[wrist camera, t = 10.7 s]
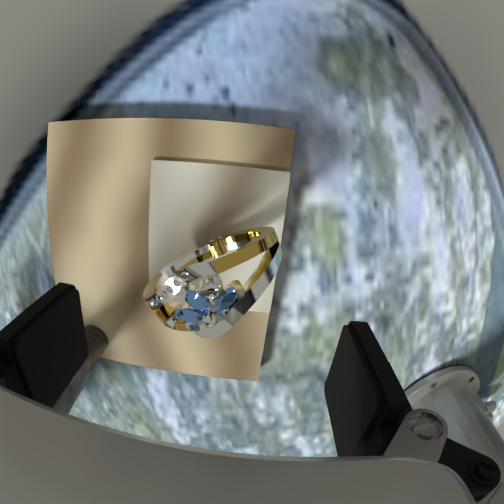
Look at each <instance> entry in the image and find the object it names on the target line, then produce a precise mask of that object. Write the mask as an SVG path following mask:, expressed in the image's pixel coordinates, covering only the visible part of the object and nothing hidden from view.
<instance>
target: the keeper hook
mask: <svg viewBox="0 0 504 504" xmlns="http://www.w3.org/2000/svg"><path fill="white" fill-rule="evenodd" d="M85 333H86V338H87V343H88V348H89V354H88V358H87V359H86V361H85V362H84V363H83V365H82V366H81V368H80V369H79V370H78V372H77V373H76V375H75V376H74V377H73V379H72V380H71V382H70V383H69V385H68V386H67V387H66V389H65V390H64V392H63V393H62V395H61V396H60V398H59V399H58V400H57V402H56V403H55V405H54V406H53V409H56V410H58V411H61V412H64V413H66V414H69V412H70V410H71V408H72V406H73V404H74V403H75V401H76V399H77V397H78V395H79V394H80V392H81V390H82V388H83V387H84V385H85V383H86V382H87V380H88V378H89V376H90V375H91V373H92V371H93V370H94V368H95V366H96V364H97V363H98V361H99V359H100V358H101V356H102V355H103V353H104V351H105V350H106V348H107V346H108V338H107V336H106V334H105V333H104V332H103V331H102V330H101V329H100V328H98V327H96V326H93V325H87V326H85Z"/></svg>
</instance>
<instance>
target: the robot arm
mask: <svg viewBox="0 0 504 504" xmlns="http://www.w3.org/2000/svg"><path fill="white" fill-rule="evenodd" d="M88 354H89V348H88V343H87V338H86V333H85V327H84V321H83V315H82V308H81V301H80V294H79V291H78V290H77V289H76V287H75V286H74V285H72V284H67V283H63V282H60V283H58V284H57V285H55V286H54V287H53V288H52V289H50V290H49V291H48V292H46V293H45V294H44V295H43V296H41V297H40V298H39V299H38V300H36V301H35V302H34V303H33V304H32V305H30V306H29V307H28V308H27V309H25V310H24V311H23V312H22V313H21V314H19V315H18V316H17V317H16V318H15V319H14V320H12V321H11V322H10V323H9V324H8V325H7V326H5V327H4V328H3V329H2V330H1V331H0V504H504V441H503V439H502V437H501V436H500V434H499V433H498V431H497V430H496V428H495V426H494V425H493V423H492V421H493V415H492V413H491V412H492V411H494V410H495V408H496V402H495V401H494V400H493V401H488V402H485V403H484V402H483V401H482V400H481V398H480V397H479V395H478V393H479V389H480V380H479V378H478V376H477V374H476V373H475V372H474V371H473V370H472V369H471V368H469V367H467V366H452V367H448V368H445V369H442V370H439V371H437V372H434V373H432V374H430V375H428V376H427V377H425V378H423V379H421V380H420V381H418V382H417V383H415V384H414V385H412V386H411V387H410V388H409V389H407V390H406V391H405V392H404V391H403V389H402V387H401V385H400V383H399V381H398V379H397V377H396V375H395V373H394V371H393V369H392V367H391V365H390V363H389V362H388V360H387V358H386V356H385V354H384V353H383V351H382V349H381V347H380V345H379V343H378V341H377V339H376V338H375V336H374V334H373V332H372V330H371V328H370V327H369V325H368V323H367V322H359V321H350V322H349V324H348V325H344V326H343V329H342V332H341V336H340V339H339V342H338V346H337V349H336V352H335V355H334V358H333V362H332V365H331V368H330V371H329V374H328V377H327V380H326V383H325V388H324V392H325V397H326V402H327V407H328V411H329V416H330V421H331V425H332V430H333V435H334V440H335V445H336V449H337V454H338V457H294V456H270V455H255V454H244V453H234V452H225V451H217V450H210V449H203V448H197V447H191V446H185V445H179V444H174V443H169V442H164V441H160V440H155V439H151V438H146V437H142V436H138V435H134V434H130V433H126V432H123V431H119V430H115V429H112V428H109V427H105V426H102V425H99V424H96V423H92V422H89V421H86V420H83V419H80V418H77V417H75V416H72V415H69V414H66V413H64V412H61V411H58V410H56V409H53V406H54V405H55V403H56V402H57V400H58V399H59V398H60V396H61V395H62V393H63V392H64V390H65V389H66V387H67V386H68V385H69V383H70V382H71V380H72V379H73V377H74V376H75V375H76V373H77V372H78V370H79V369H80V368H81V366H82V365H83V363H84V362H85V361H86V359H87V358H88Z"/></svg>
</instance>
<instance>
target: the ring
mask: <svg viewBox="0 0 504 504" xmlns="http://www.w3.org/2000/svg"><path fill="white" fill-rule="evenodd" d="M236 248H239V249H237V250H236V251H234V252H233V253H230V254H228V255H225V256H223V257H221V258H218V259H216V260H213V261H211V262H202V261H204V260H206V259H208V258H211V257H218V256H221V255H224V254H226V253H227V251H229V250H232V249H236ZM264 251H265V253H264V256H263V257H262V259H261V261H260V263H259V264H258V266H257V267H256V269H255V270H254V272H253V273H252V275H251V276H250V277H249V279H248V280H247V281H246V282H245V284H244V285H243V286H242V284H241V283H240V281H239V280H234V281H231V284H228V285H225V286H224V283H223V280H221V279H220V273H222V272H224V271H226V270H229V269H231V268H233V267H235V266H237V265H239V264H242V263H244V262H246V261H248V260H250V259H252V258H254V257H255V256H257V255H259V254H261V253H263V252H264ZM282 255H283V252H282V248H281V245H280V242H279V239H278V237H277V235H276V232H275V229H274V228H273V227H268V226H266V227H256V228H251V229H246V230H242V231H239V232H235V233H232V234H229V235H225V236H222V235H221V236H218V237H215V238H212V239H210V240H209V242H207V243H204V244H202V245H200V246H198V247H196V248H194V249H192V250H190V251H188V252H187V253H185V254H183V255H181V256H180V257H178V258H177V259H175V260H174V261H172V262H171V263H169V264H168V265H167V266H165V267H164V268H163V269H162V270H161V271H159V272H158V273H157V274H156V275H155V276H154V277H153V278H152V279H151V280H150V281H149V283H148V284H147V286H146V287H145V290H144V292H143V298H144V300H145V302H146V304H147V305H148V307H149V309H150V310H153V311H154V313H155V315H156V316H157V318H158V319H159V321H160V322H161V323H162V324H163V325H165V326H166V327H168V328H171V329H174V330H178V331H192V332H193V333H195V334H196V335H198V336H199V337H202V338H206V339H210V338H215V337H218V336H220V335H222V334H224V333H225V332H227V331H228V330H229V329H231V328H232V327H233V326H234V325H235V324H236V323H237V322H238V321H239V320H240V319H241V318H242V317H243V316H244V314H245V313H246V312H247V311H248V310H249V309H250V308H251V307H252V306H253V304H254V303H255V302H256V301H257V300H258V299H259V297H260V296H261V295H262V294H263V292H264V291H265V290H266V288H267V287H268V286H269V284H270V283H271V281H272V280H273V278H274V276H275V274H276V272H277V270H278V268H279V266H280V263H281V260H282ZM201 277H208V279H207V280H206V281H204V280H201V281H199V287H197V286H193V285H191V282H192V281H194V280H196V279H198V278H201ZM175 296H176V298H177V301H178V303H180V304H178V305H176V306H175V308H173V307H171V306H169V305H168V301H170V300H171V299H172V298H173V297H175ZM184 299H185V301H186V302H187V303H184V304H181V302H182V301H183V300H184ZM213 314H214V317H213V318H212V316H213Z"/></svg>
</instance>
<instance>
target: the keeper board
mask: <svg viewBox="0 0 504 504" xmlns="http://www.w3.org/2000/svg"><path fill="white" fill-rule="evenodd" d="M295 131H296V130H295V129H289V128H281V127H274V126H266V125H257V124H248V123H238V122H227V121H214V120H198V119H176V118H108V119H86V120H71V121H59V122H49V125H48V141H47V209H48V225H49V237H50V248H51V256H52V264H53V272H54V279H55V285H57V284H58V283H60V282H63V283H67V284H72V285H74V286H75V287H76V289H77V290H78V291H79V294H80V301H81V308H82V315H83V321H84V327H85V326H87V325H93V326H96V327H98V328H100V329H101V330H102V331H103V332H104V333H105V334H106V336H107V338H108V346H107V348H106V350H105V351H104V353H103V355H102V356H101V358H104V359H109V360H113V361H118V362H123V363H128V364H133V365H138V366H143V367H149V368H154V369H160V370H166V371H173V372H179V373H186V374H194V375H201V376H209V377H218V378H228V379H238V380H250V381H258V377H259V371H260V366H261V360H262V354H263V348H264V342H265V336H266V330H267V324H268V318H269V313H270V310H271V304H272V298H273V291H274V285H275V279H276V274H275V276H274V278H273V280H272V281H271V283H270V284H269V286H268V287H267V288H266V290H265V291H264V292H263V294H262V295H261V296H260V297H259V299H258V300H257V301H256V302H255V303H254V304H253V306H252V307H251V308H250V309H249V310H248V311H247V312H246V313H245V314H244V316H243V317H242V318H241V319H240V320H239V321H238V322H237V323H236V324H235V325H234V326H233V327H232V328H231V329H229V330H228V331H227V332H225V333H224V334H222V335H220V336H218V337H215V338H210V339H206V338H202V337H199V336H198V335H196V334H195V333H193V332H192V331H178V330H174V329H171V328H168V327H166V326H165V325H163V324H162V323H161V322H160V321H159V319H158V318H157V316H156V315H155V313H154V311H153V310H150V309H149V307H148V305H147V304H146V302H145V300H144V298H143V292H144V290H145V287H146V286H147V284H148V283H149V281H150V280H151V279H152V278H153V277H154V276H155V275H156V274H157V273H158V272H159V271H161V270H162V269H163V268H164V267H165V266H167V265H168V264H169V263H171V262H172V261H174V260H175V259H177V258H178V257H180V256H181V255H183V254H185V253H187V252H188V251H190V250H192V249H194V248H196V247H198V246H200V245H202V244H204V243H207V242H209V240H210V239H212V238H215V237H218V236H221V235H222V236H225V235H229V234H232V233H235V232H239V231H242V230H246V229H251V228H256V227H266V226H268V227H273V228H274V229H275V232H276V235H277V237H278V239H279V242H280V245H281V239H282V232H283V226H284V219H285V212H286V205H287V197H288V190H289V183H290V175H291V172H290V170H291V163H292V155H293V147H294V139H295ZM237 249H239V248H236V249H232V250H229V251H227V253H226V254H224V255H221V256H218V257H211V258H208V259H206V260H204V261H202V262H211V261H213V260H216V259H218V258H221V257H223V256H225V255H228V254H230V253H233V252H234V251H236V250H237ZM264 253H265V251H264V252H263V253H261V254H259V255H257V256H255V257H254V258H252V259H250V260H248V261H246V262H244V263H242V264H239V265H237V266H235V267H233V268H231V269H229V270H226V271H224V272H222V273H220V279H221V280H223V283H224V286H225V285H228V284H231V281H234V280H239V281H240V283H241V284H242V286H243V285H244V284H245V282H246V281H247V280H248V279H249V277H250V276H251V275H252V273H253V272H254V270H255V269H256V267H257V266H258V264H259V263H260V261H261V259H262V257H263V256H264ZM207 279H208V277H201V278H198V279H196V280H194V281H192V282H191V285H193V286H197V287H199V281H201V280H204V281H206V280H207ZM184 303H187V302H186V301H185V299H184V300H183V301H182V302H181V304H184ZM178 304H180V303H178V301H177V298H176V296H175V297H173V298H172V299H171V300H170V301H168V305H169V306H171V307H173V308H175V306H176V305H178ZM213 317H214V314H213V316H212V318H213Z"/></svg>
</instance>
